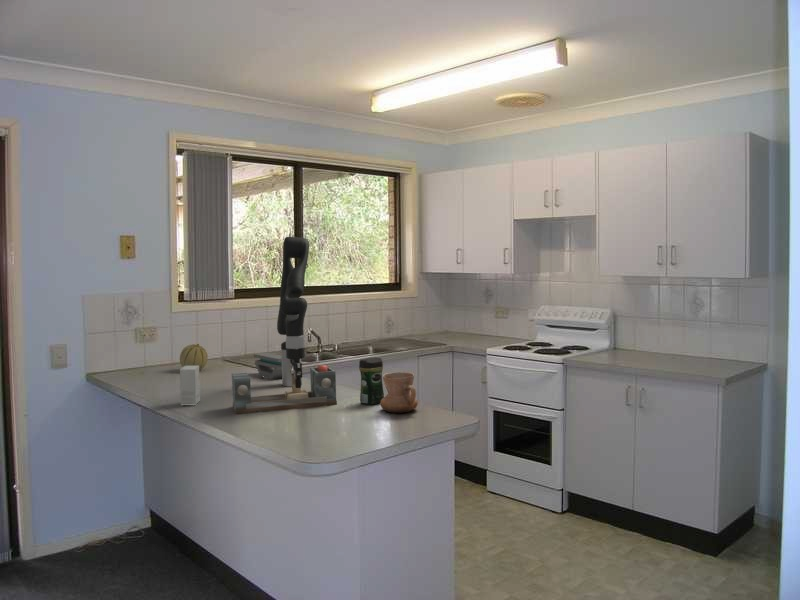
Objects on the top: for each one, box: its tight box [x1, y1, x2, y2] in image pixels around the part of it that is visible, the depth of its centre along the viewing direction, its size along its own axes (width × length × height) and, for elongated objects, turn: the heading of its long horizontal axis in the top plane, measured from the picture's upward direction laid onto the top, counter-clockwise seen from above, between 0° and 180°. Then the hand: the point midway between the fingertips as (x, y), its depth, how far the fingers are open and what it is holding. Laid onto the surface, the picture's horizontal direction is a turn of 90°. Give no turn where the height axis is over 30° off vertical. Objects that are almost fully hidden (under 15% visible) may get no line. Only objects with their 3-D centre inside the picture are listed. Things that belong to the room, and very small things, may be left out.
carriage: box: [284, 374, 308, 400], centre depth 260 cm, size 8×8×10 cm
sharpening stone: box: [253, 351, 282, 380], centre depth 325 cm, size 25×8×11 cm, turn 41°
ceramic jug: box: [379, 371, 419, 414], centre depth 245 cm, size 18×14×14 cm
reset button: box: [317, 364, 328, 372], centre depth 264 cm, size 4×4×4 cm
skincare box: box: [179, 365, 201, 405], centre depth 265 cm, size 8×7×16 cm
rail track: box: [231, 366, 338, 414], centre depth 259 cm, size 14×40×14 cm, turn 109°
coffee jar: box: [358, 357, 385, 405], centre depth 260 cm, size 10×8×19 cm
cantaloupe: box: [179, 343, 209, 371], centre depth 346 cm, size 15×15×15 cm
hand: (296, 385), depth 260 cm, fingers open, 8 cm apart
